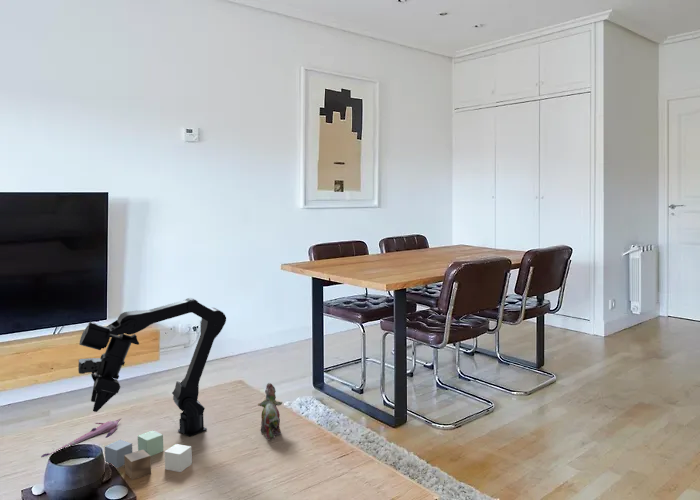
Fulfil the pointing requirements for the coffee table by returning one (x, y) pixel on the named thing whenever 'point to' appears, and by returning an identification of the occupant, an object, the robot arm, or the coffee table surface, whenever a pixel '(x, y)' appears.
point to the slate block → (117, 452)
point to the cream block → (178, 457)
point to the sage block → (151, 442)
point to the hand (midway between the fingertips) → (93, 406)
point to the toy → (94, 433)
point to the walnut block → (137, 464)
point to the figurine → (270, 413)
